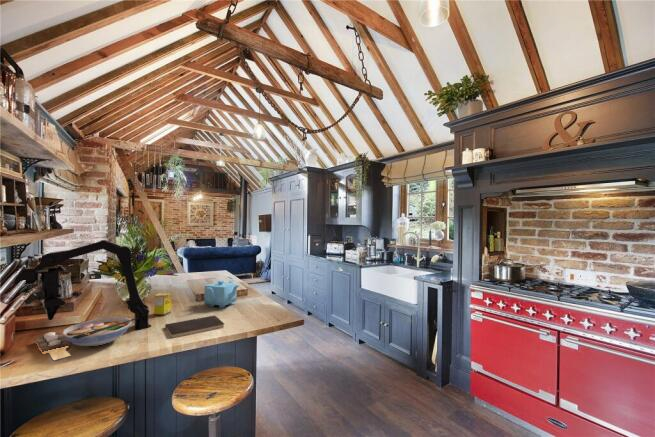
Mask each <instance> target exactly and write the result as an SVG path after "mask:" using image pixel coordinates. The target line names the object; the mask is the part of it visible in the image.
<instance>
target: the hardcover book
mask: <svg viewBox="0 0 655 437" xmlns="http://www.w3.org/2000/svg"><path fill="white" fill-rule="evenodd" d="M224 325H225V323H224V322H223V321H222V320H221V319H219V317H218V316H216V315H210V316H205V317H197V318H193V319H189V320H188V319H187V320H181V321H176V322H171V323H165V325H164V329H166V330H167V332H168V334H169V335H170V338H172V339H174V338H178V337H183V336H188V335H191V334H198V333H202V332H206V331H207V332H208V331H211V330H216V329H220V328H224V327H225V326H224Z"/></svg>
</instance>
